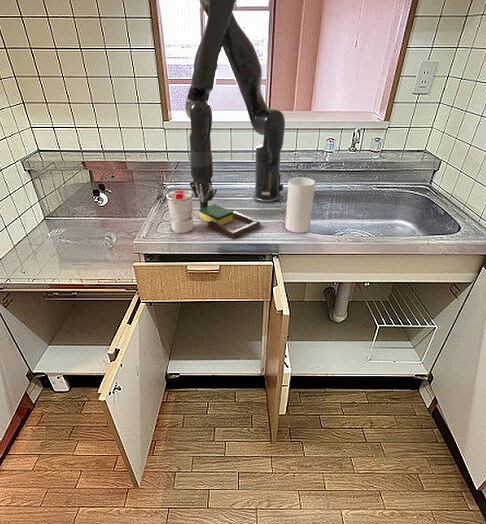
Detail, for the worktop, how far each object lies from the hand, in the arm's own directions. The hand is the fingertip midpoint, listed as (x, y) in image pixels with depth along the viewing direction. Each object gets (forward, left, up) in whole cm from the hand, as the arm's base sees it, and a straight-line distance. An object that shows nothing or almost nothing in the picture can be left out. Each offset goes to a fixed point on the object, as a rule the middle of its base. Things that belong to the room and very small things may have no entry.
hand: (204, 210), depth 129 cm
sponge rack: (0, +15, -1) cm, 15 cm away
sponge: (0, +7, -1) cm, 7 cm away
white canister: (+13, +4, -2) cm, 14 cm away
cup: (-15, +31, -2) cm, 35 cm away
